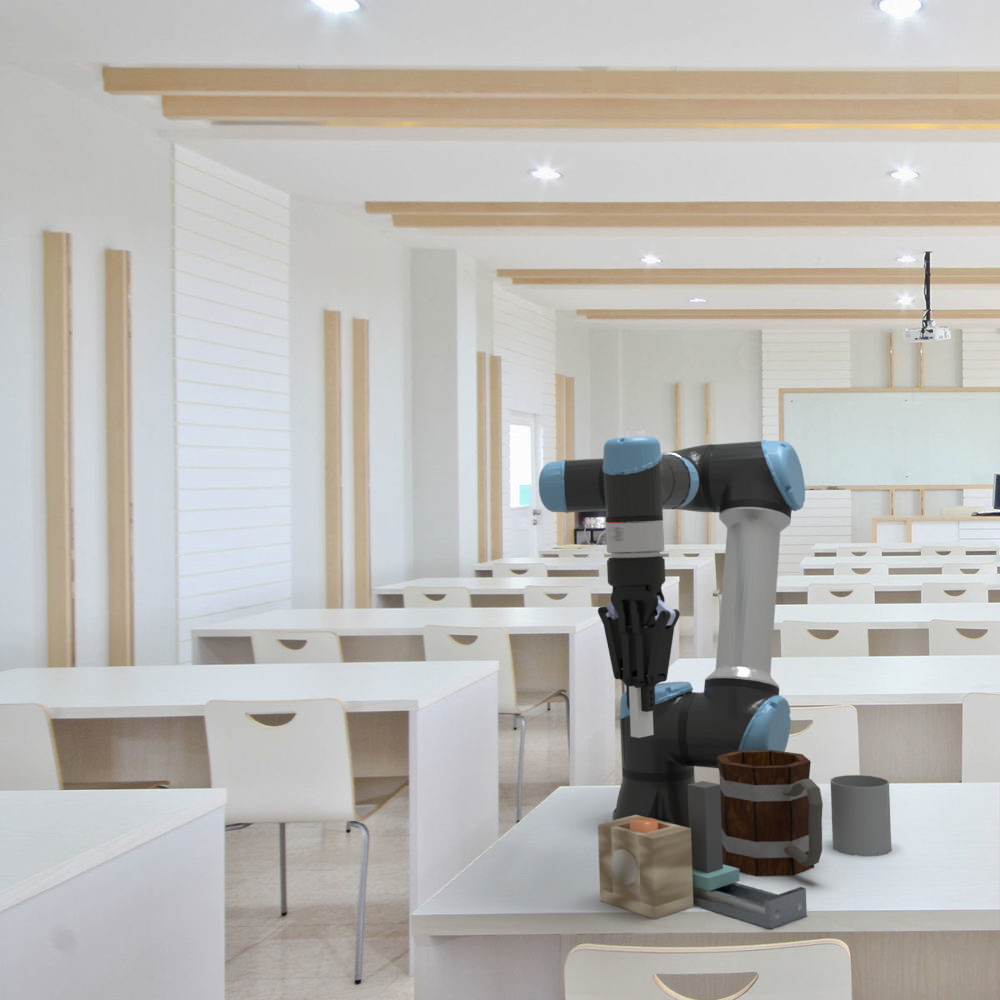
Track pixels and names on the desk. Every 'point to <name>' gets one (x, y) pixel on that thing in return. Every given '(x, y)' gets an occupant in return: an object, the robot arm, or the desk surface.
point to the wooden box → (645, 867)
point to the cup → (861, 815)
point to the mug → (769, 813)
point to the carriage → (707, 838)
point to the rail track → (753, 904)
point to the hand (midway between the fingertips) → (642, 735)
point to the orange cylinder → (643, 824)
